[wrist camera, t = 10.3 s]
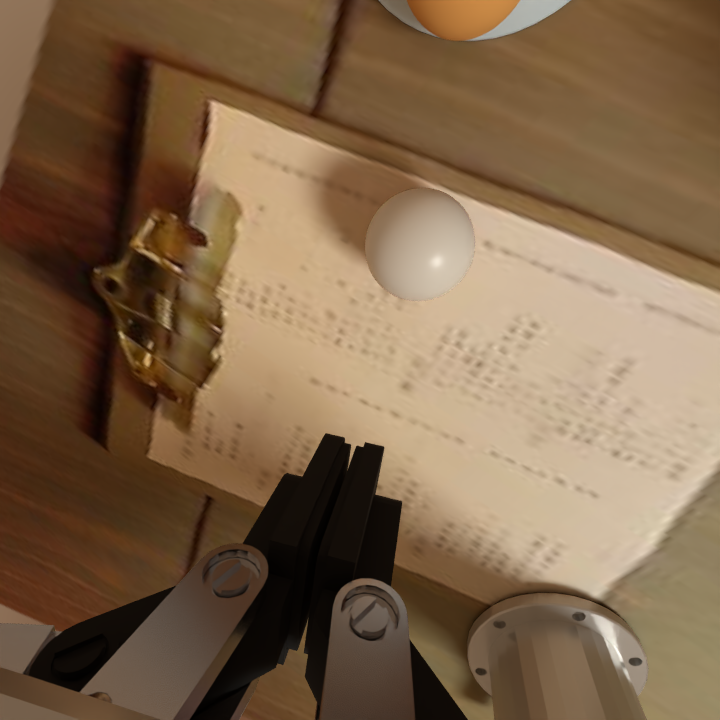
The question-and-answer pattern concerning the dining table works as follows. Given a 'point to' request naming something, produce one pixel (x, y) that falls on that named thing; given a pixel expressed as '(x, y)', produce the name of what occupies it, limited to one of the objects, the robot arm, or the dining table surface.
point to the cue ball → (420, 244)
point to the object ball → (461, 16)
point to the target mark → (530, 10)
